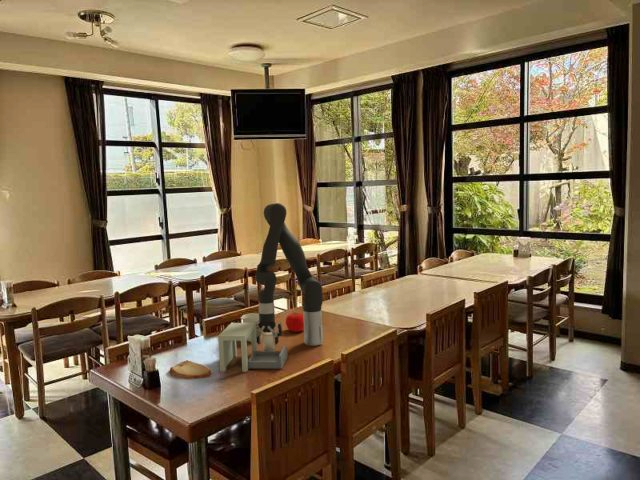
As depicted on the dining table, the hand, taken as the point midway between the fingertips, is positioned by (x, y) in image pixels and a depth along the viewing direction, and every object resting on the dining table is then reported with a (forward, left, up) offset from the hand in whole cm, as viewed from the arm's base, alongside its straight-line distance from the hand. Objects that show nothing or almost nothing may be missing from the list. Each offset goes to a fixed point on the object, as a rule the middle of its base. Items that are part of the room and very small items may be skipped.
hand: (267, 344), depth 233 cm
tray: (-3, +14, -4) cm, 15 cm away
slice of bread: (+29, +25, -5) cm, 39 cm away
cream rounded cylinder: (-1, 0, -4) cm, 4 cm away
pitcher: (+11, -20, -4) cm, 23 cm away
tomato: (-9, -35, -4) cm, 36 cm away
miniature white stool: (+10, +14, -4) cm, 18 cm away
